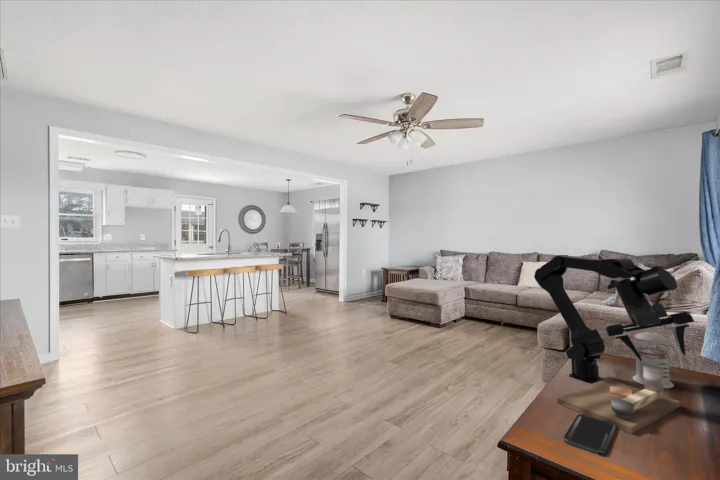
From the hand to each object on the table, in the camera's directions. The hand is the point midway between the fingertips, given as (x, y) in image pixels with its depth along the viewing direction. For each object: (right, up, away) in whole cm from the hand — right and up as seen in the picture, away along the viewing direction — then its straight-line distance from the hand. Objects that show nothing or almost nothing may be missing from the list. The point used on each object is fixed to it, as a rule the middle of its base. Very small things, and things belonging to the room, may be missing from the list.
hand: (662, 357), depth 88 cm
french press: (+13, -13, +16) cm, 24 cm away
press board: (-10, -14, +2) cm, 17 cm away
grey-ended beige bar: (-8, -11, -3) cm, 14 cm away
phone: (-26, -15, -11) cm, 32 cm away
